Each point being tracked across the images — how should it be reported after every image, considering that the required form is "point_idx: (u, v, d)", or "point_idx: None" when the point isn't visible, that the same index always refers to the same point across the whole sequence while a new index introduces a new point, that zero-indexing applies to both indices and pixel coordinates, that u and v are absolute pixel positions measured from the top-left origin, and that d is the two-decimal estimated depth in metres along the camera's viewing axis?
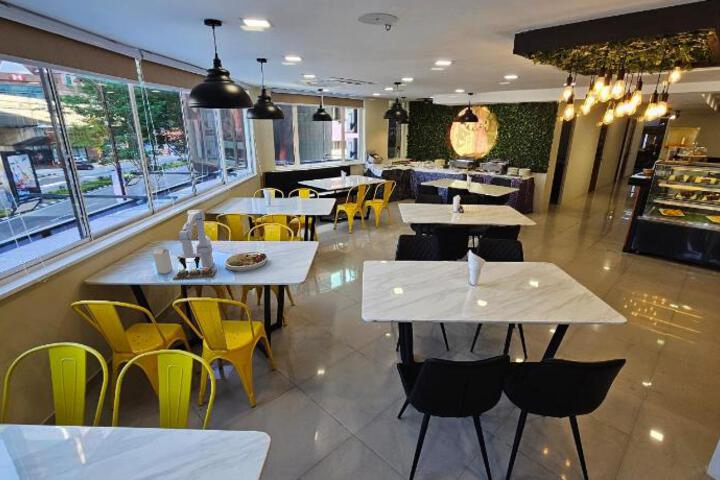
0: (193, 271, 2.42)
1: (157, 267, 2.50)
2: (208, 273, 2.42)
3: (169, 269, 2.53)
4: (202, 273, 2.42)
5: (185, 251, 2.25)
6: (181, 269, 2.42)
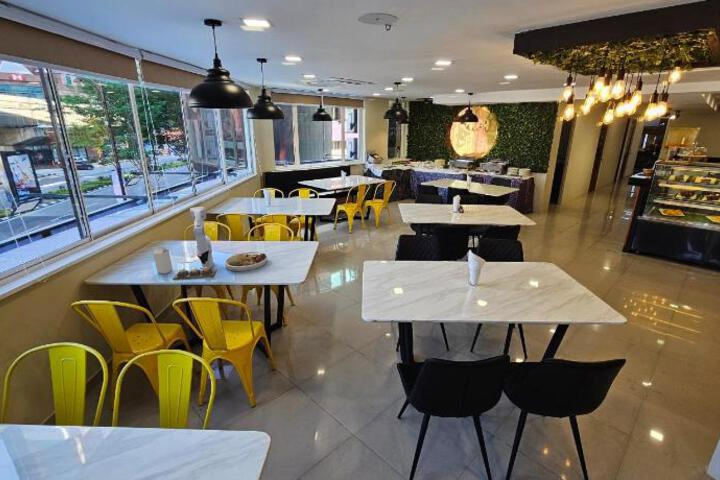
0: (193, 271, 2.42)
1: (157, 267, 2.50)
2: (208, 273, 2.42)
3: (169, 269, 2.53)
4: (202, 273, 2.42)
5: None
6: (181, 269, 2.42)
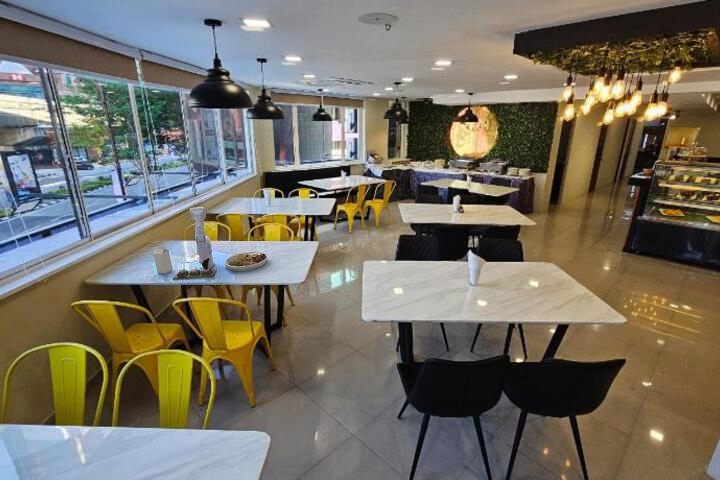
0: (193, 271, 2.42)
1: (157, 267, 2.50)
2: (208, 273, 2.42)
3: (169, 269, 2.53)
4: (202, 273, 2.42)
5: None
6: (181, 269, 2.42)
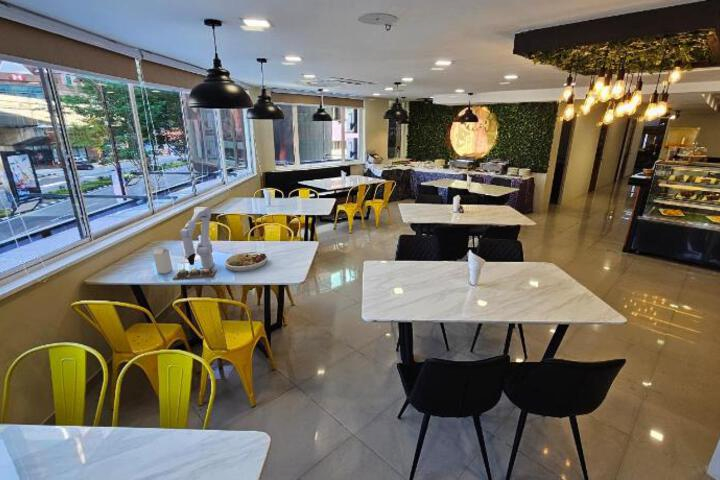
0: (193, 271, 2.42)
1: (157, 267, 2.50)
2: (208, 273, 2.42)
3: (169, 269, 2.53)
4: (202, 273, 2.42)
5: None
6: (181, 269, 2.42)
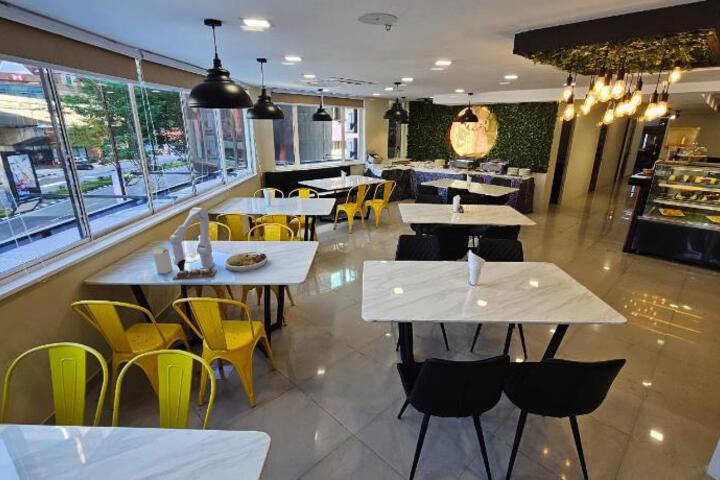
0: (193, 271, 2.42)
1: (157, 267, 2.50)
2: (208, 273, 2.42)
3: (169, 269, 2.53)
4: (202, 273, 2.42)
5: None
6: None
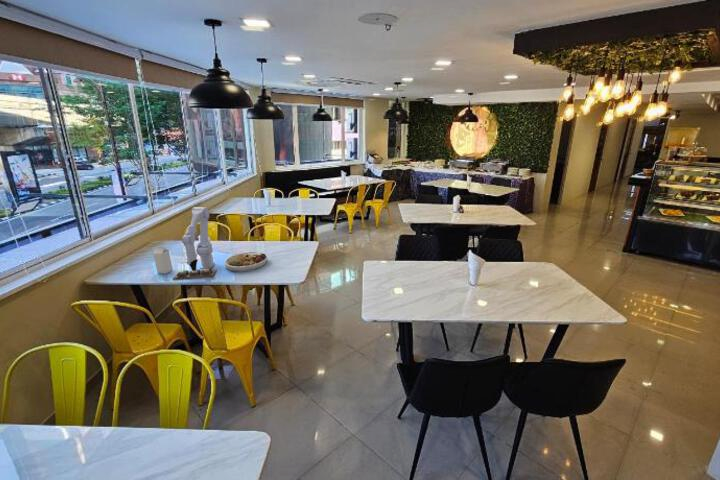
0: None
1: (157, 267, 2.50)
2: (208, 273, 2.42)
3: (169, 269, 2.53)
4: (202, 273, 2.42)
5: None
6: (181, 271, 2.43)
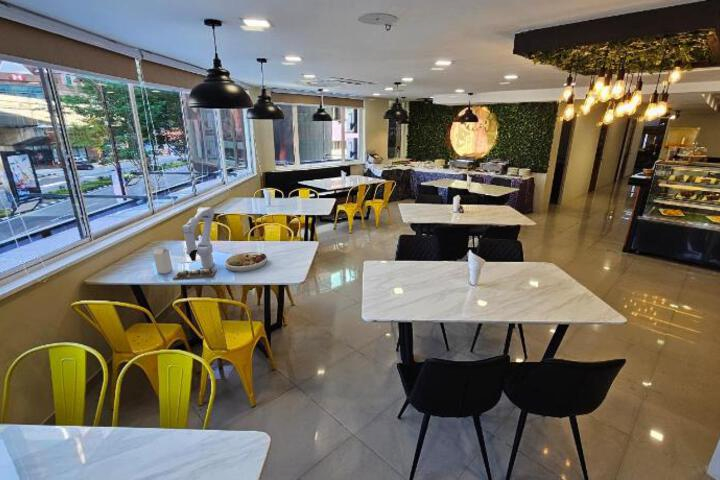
0: None
1: (157, 267, 2.50)
2: (208, 273, 2.42)
3: (169, 269, 2.53)
4: (202, 273, 2.42)
5: None
6: (181, 271, 2.43)
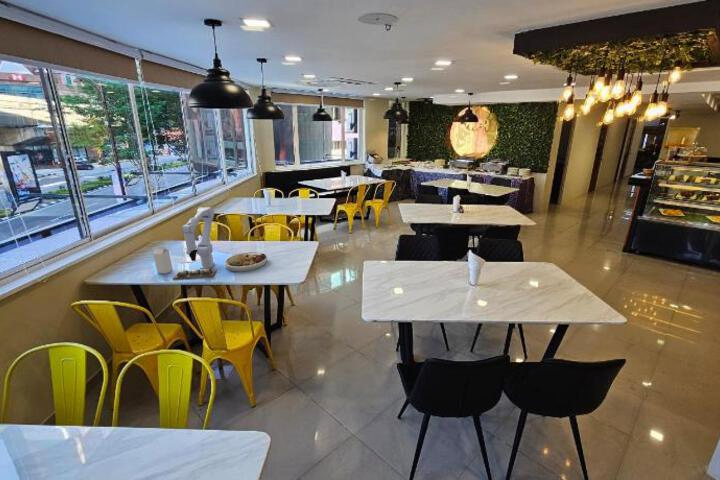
0: None
1: (157, 267, 2.50)
2: (208, 273, 2.42)
3: (169, 269, 2.53)
4: (202, 273, 2.42)
5: None
6: (181, 271, 2.43)
